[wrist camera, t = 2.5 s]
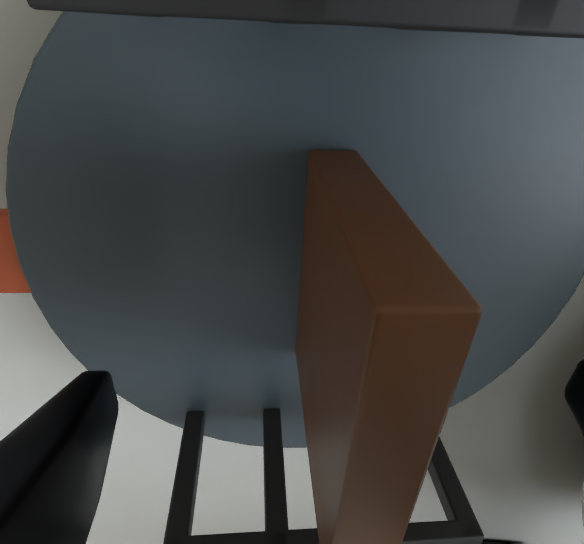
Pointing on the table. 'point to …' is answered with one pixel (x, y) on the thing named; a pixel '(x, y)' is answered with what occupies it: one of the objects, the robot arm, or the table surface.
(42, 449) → the robot arm
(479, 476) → the table surface
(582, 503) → the serving bowl
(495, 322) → the drying rack
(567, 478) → the table surface
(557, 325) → the table surface
